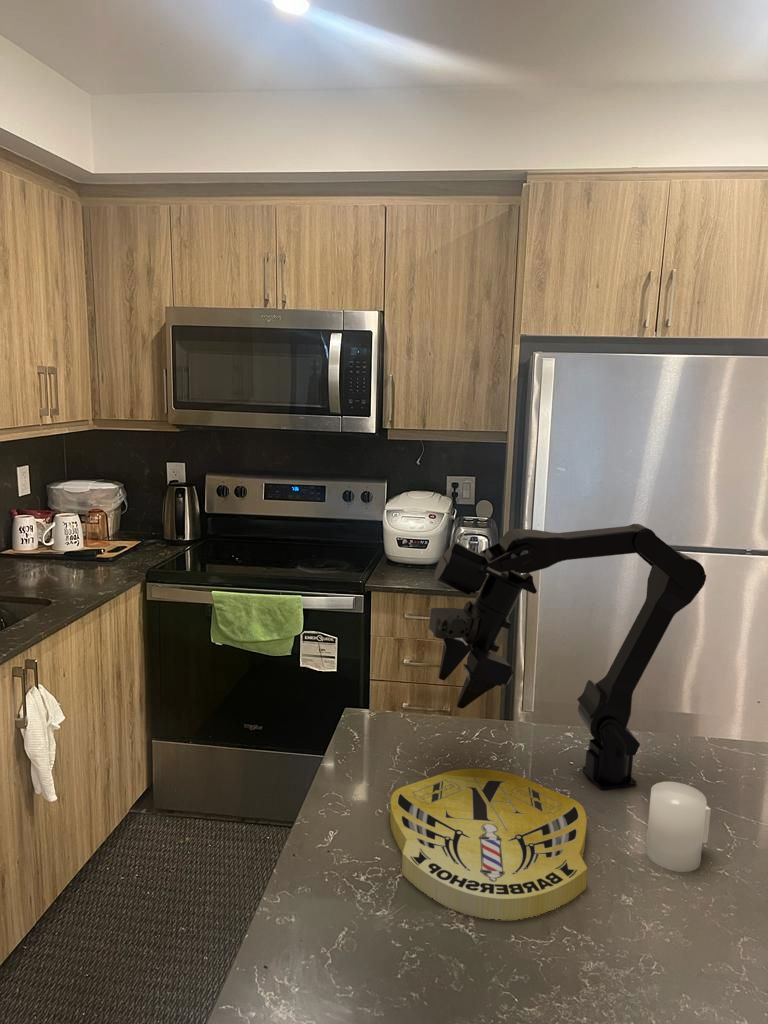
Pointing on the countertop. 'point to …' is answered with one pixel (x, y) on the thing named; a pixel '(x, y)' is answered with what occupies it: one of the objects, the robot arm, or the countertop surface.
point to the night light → (677, 826)
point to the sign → (490, 843)
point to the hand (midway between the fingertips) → (449, 692)
